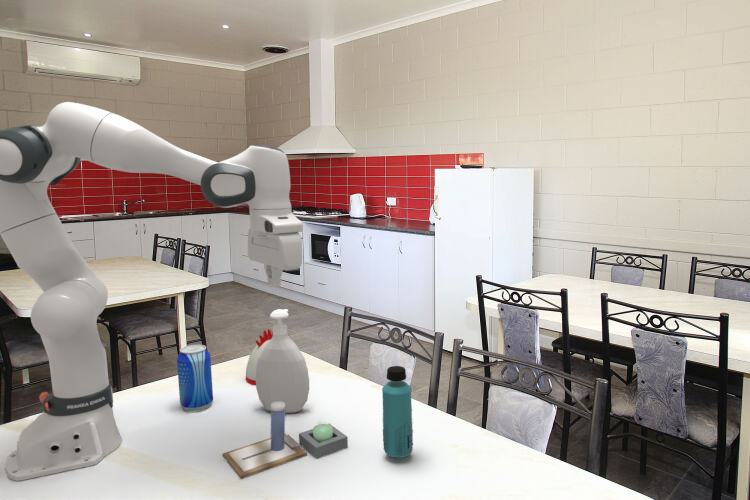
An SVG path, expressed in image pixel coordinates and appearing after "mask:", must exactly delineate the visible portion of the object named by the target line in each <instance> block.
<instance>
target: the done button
mask: <svg viewBox="0 0 750 500" xmlns="http://www.w3.org/2000/svg"><path fill="white" fill-rule="evenodd" d="M329 424H330V423H319V424H315V425H314V426H313V427H312V429H313V439H315V440H316V441H317V442H318V443H320V442H323V441H326V440H328V439H331V438H333V427H334V426H333V425H332V424H331V425H332V426H333V427H332V426H331V425H329Z"/></svg>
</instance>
